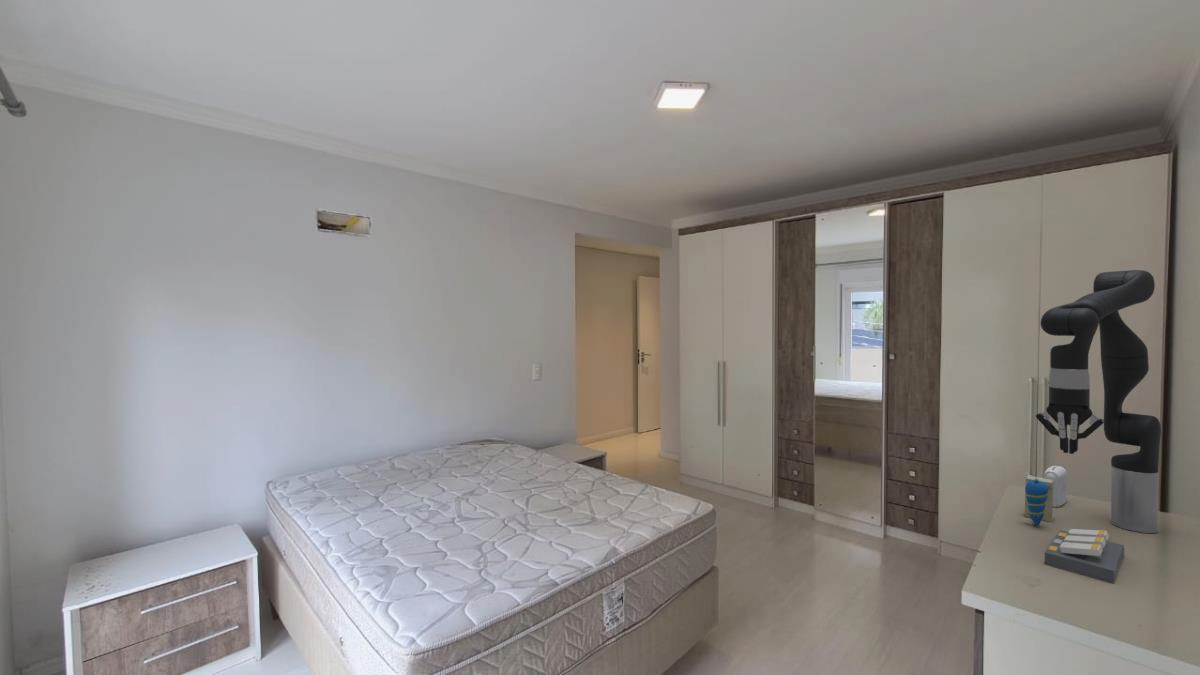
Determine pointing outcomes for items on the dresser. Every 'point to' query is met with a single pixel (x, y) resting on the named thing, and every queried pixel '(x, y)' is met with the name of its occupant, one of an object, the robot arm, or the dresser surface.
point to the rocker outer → (1081, 548)
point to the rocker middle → (1085, 540)
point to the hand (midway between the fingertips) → (1068, 452)
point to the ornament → (1036, 499)
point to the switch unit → (1086, 559)
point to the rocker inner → (1089, 533)
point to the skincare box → (1049, 501)
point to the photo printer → (1058, 484)
